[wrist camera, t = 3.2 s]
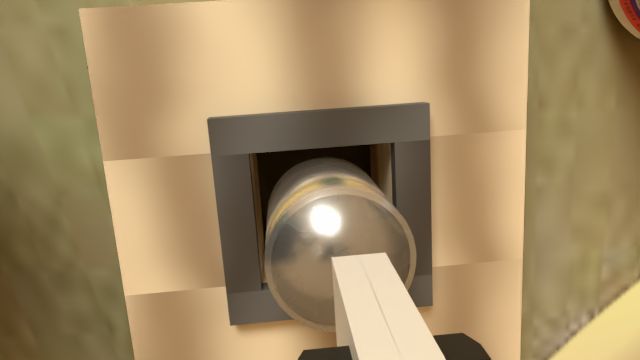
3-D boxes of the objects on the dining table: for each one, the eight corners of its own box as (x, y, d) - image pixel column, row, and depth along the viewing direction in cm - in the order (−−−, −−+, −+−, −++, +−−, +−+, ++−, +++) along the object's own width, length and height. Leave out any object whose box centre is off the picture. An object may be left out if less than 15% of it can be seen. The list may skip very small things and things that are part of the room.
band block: (167, 353, 29) (139, 426, 23) (118, 20, 25) (70, 6, 19) (478, 322, 30) (527, 384, 24) (480, -1, 26) (540, -20, 20)
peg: (272, 272, 23) (271, 339, 17) (262, 161, 22) (257, 194, 16) (383, 262, 23) (418, 324, 18) (379, 152, 22) (414, 182, 16)
